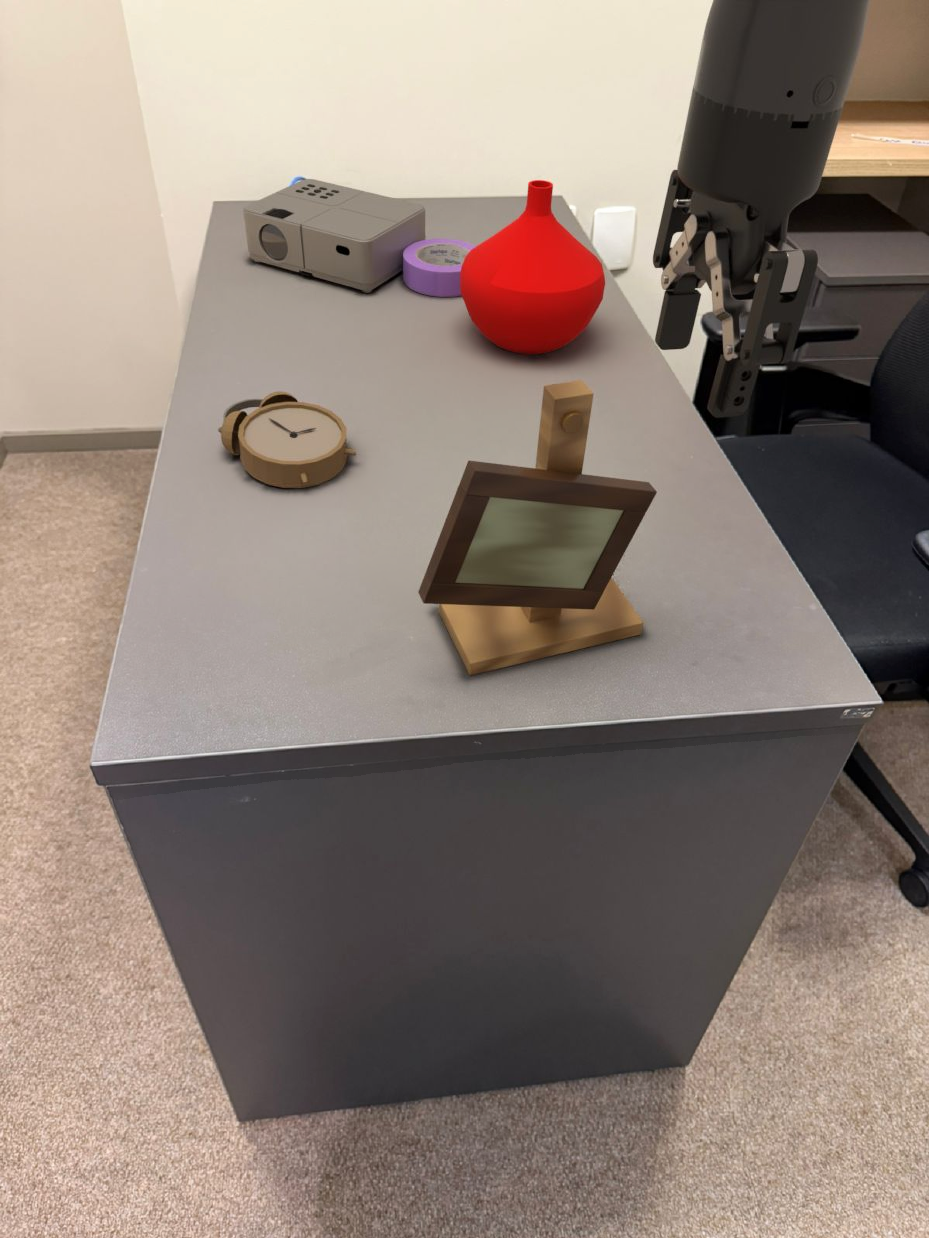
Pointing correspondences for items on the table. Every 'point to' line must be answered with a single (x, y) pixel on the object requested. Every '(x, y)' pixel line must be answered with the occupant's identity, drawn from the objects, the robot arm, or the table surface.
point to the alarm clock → (286, 440)
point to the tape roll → (435, 266)
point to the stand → (544, 632)
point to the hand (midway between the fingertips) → (696, 379)
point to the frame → (533, 537)
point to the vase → (532, 281)
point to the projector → (333, 232)
